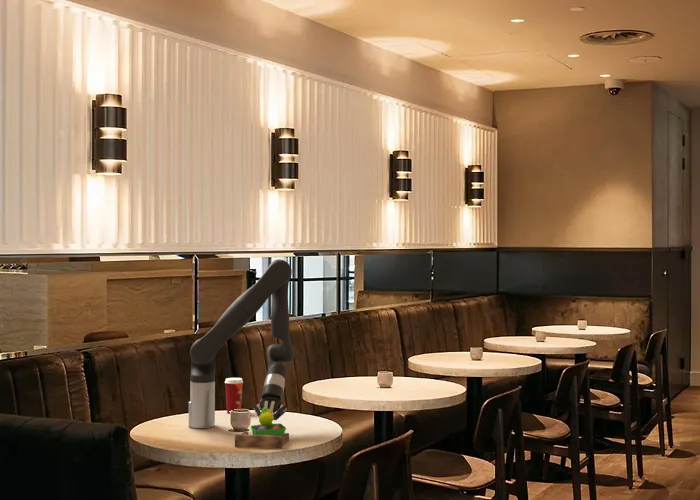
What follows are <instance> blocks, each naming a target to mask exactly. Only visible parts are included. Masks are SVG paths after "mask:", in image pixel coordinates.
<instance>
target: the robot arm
mask: <svg viewBox="0 0 700 500" xmlns="http://www.w3.org/2000/svg"><path fill="white" fill-rule="evenodd" d="M292 274H293V273H292V267H291V265H290V263H288V262H287V260H284V259H280V258H279V259H275V260H273V261H271V263H270V264H269V265H268V267H267V269H266V270H265V271H264V273H263V274H262V275H261V277H259V279H258V280H257V281H256V282H255V284H253V285H251V286H250V287H249V288H248V289H247V290H245V291H244V292H243V293H242V294H241V295H239V296H238V297H237V298H236V299H235V300H234V301H233V302H232V303H231V304H230V305H229V306H228V308H227V309H226V310H225V311H224V312H223V313H222V314H221V315H220V317H219V319H218V320H217V321H216V323H215V324H214V325H213V327H211V329H210V330H209V331H208V332H207V333H206V334H204V336H202V337H201V338H199V339H196V340H195V341H194V342H193V343H192V345H191V346H190V350H189V354H190V358H191V359H190V378H189V380H190V381H189V382H190V385H189V387H190V388H189V389H190V390H189V391H190V393H189V394H190V401H188V427H189V428H195V429H208V428H213V427H215V423H216V422H215V421H216V419H215V418H216V417H215V415H216V407H215V405H216V397H215V396H216V395H215V394H216V389H215V388H216V386H215V385H216V382H215V381H216V354H217V353H218V351H220V349H221V348H222V347H223V345H225V344H226V342H227V341H228V340H229V339H231V338H232V337H233V336H234V335H236V334H237V333H238V332H240V330H242V328H244V327H245V326H246V325H247V324H248V323H249V321H251V320H252V319H253V317H254V316H255V315H256V314H257V313H258V312H259V311H260V309H261V308H262V307H263V306H264V305H265V303H266V302H267V300H268V299H269V298H270V297H271V311H270V334H271V335H270V336H271V337H272V338H274V339H278V340H281V342H283V344H280V343H279V344H278V343H274V344H271V345H269V346H268V347H267V348H266V358H267V372H266V377H265V380H264V383H263V384H264V385H263V387H262V388H263V389H262V393H261V399H260V401H259V402H258V403H257V404H254V403H253V405H252V407H253V411H254V413H256V415H257V417H258V418H259V416H260V414H261V410H262V409H263V408H268V409H269V410H270V411H271V413H272V414H273V416H274V420H273V421H277V420H279V419H280V418H281V417H282V416H283V415H284V414H285V413H286V412H287V411H288V409H287V406H286V405H284V404H283V402H282V400H283V396H284V392H285V391H284V390H285V384H286V383H285V381H286V377H287V376H286V375H287V367H286V365H285V364H287V363H289V364H290V363H292V362H293V360H294V359H295V349H294V346H293V343H292V339H291V334H290V309H289V284H290V278H292Z"/></svg>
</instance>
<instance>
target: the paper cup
mask: <svg viewBox="0 0 700 500" xmlns="http://www.w3.org/2000/svg"><path fill="white" fill-rule="evenodd" d="M243 383H244V381H243V378H242V377H228V378H225V381H224V384H225V401H226V404H225V405H226V413H227V414H228V415H230V414H229V413H230V412H229V411H231V410H234V409H241V410H242V402H243V401H242V398H243Z"/></svg>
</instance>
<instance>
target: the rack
mask: <svg viewBox="0 0 700 500" xmlns="http://www.w3.org/2000/svg"><path fill="white" fill-rule="evenodd" d="M289 441H290V432H285V433H284V435H283V436H276V435H253V434H250V433H249V431H246V430H245V431H243V432H242V433H241V434H240V433H235V434H234V447H236V448H259V449H260V448H261V449H283V447H284V446H285V445H286V444H287V443H288V442H289Z"/></svg>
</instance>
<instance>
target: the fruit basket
mask: <svg viewBox="0 0 700 500" xmlns="http://www.w3.org/2000/svg"><path fill="white" fill-rule="evenodd" d="M260 412H261V414H260V416H259V417H258V421H259V424H254V425H250V428H251V432H252V435H276V436H283V435H284V434H285V433H286V430H287V427H286V426H284V425H283V424H282V423H279V422H278V423H273V421H275V420H274V416H273V414H272V413H271V411H270V410H269V409H268V408H263V409H262V408H261V409H260Z"/></svg>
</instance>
